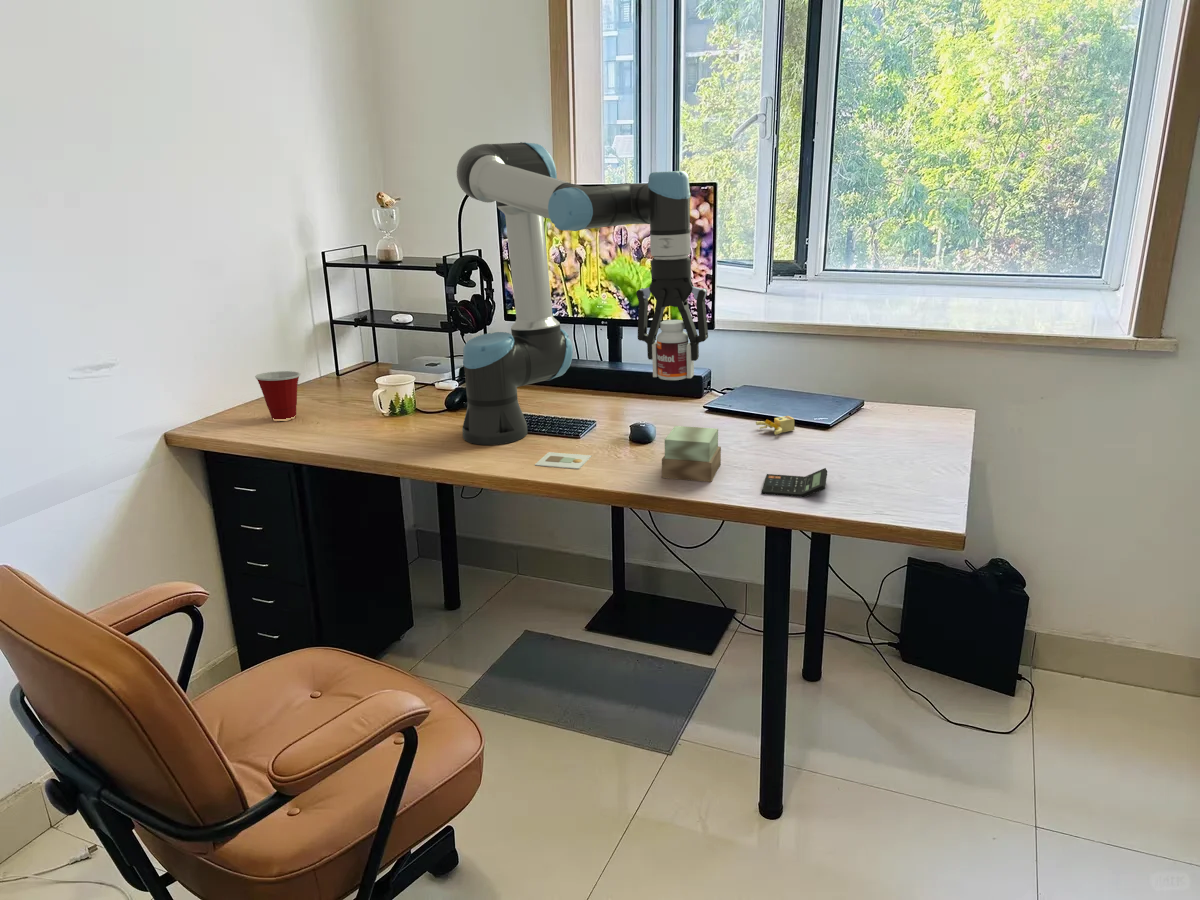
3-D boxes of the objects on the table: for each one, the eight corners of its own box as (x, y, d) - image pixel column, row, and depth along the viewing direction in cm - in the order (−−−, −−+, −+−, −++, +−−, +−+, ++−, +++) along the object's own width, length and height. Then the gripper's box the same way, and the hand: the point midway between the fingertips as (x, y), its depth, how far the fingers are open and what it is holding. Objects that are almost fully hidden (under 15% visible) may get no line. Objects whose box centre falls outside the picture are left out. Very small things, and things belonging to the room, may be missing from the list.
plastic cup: (316, 414, 222) (309, 370, 218) (283, 426, 214) (276, 380, 210) (286, 410, 227) (278, 366, 223) (253, 422, 218) (245, 376, 214)
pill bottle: (651, 378, 169) (649, 322, 166) (672, 372, 173) (671, 317, 169) (674, 382, 165) (672, 325, 161) (695, 376, 168) (694, 320, 165)
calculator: (766, 477, 170) (767, 463, 169) (826, 482, 167) (827, 467, 166) (761, 495, 162) (761, 480, 161) (824, 500, 159) (825, 485, 158)
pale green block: (662, 477, 171) (661, 440, 169) (673, 461, 180) (673, 425, 178) (711, 482, 168) (711, 443, 166) (720, 464, 177) (721, 428, 175)
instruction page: (534, 465, 181) (534, 464, 181) (548, 452, 188) (548, 451, 188) (579, 469, 178) (579, 467, 178) (591, 456, 185) (591, 455, 185)
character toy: (753, 415, 198) (783, 411, 200) (753, 429, 199) (782, 424, 201) (770, 425, 190) (801, 420, 193) (770, 439, 191) (800, 434, 194)
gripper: (616, 259, 161) (621, 379, 168) (716, 258, 155) (717, 382, 162) (628, 255, 168) (632, 370, 175) (724, 253, 162) (725, 373, 169)
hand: (673, 375), depth 169 cm, fingers closed on pill bottle, 6 cm apart
